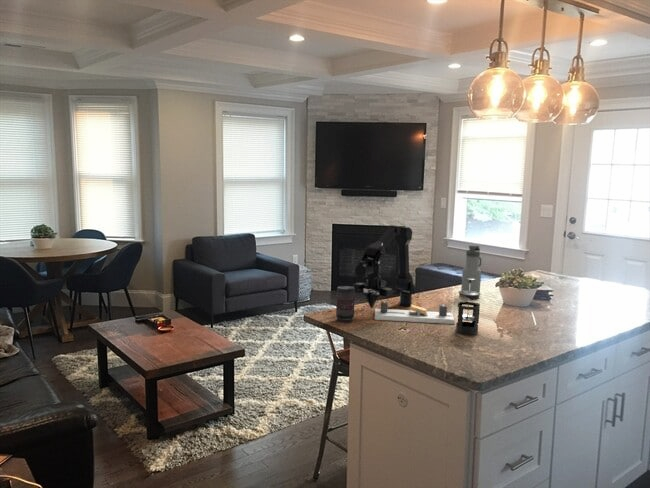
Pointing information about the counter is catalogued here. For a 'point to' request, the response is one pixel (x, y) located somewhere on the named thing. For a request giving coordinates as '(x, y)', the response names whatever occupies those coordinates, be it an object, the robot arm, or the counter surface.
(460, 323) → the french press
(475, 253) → the water bottle
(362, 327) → the counter surface
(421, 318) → the panel
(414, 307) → the tan block
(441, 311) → the slider
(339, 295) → the camera lens
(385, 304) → the slider
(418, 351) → the counter surface
